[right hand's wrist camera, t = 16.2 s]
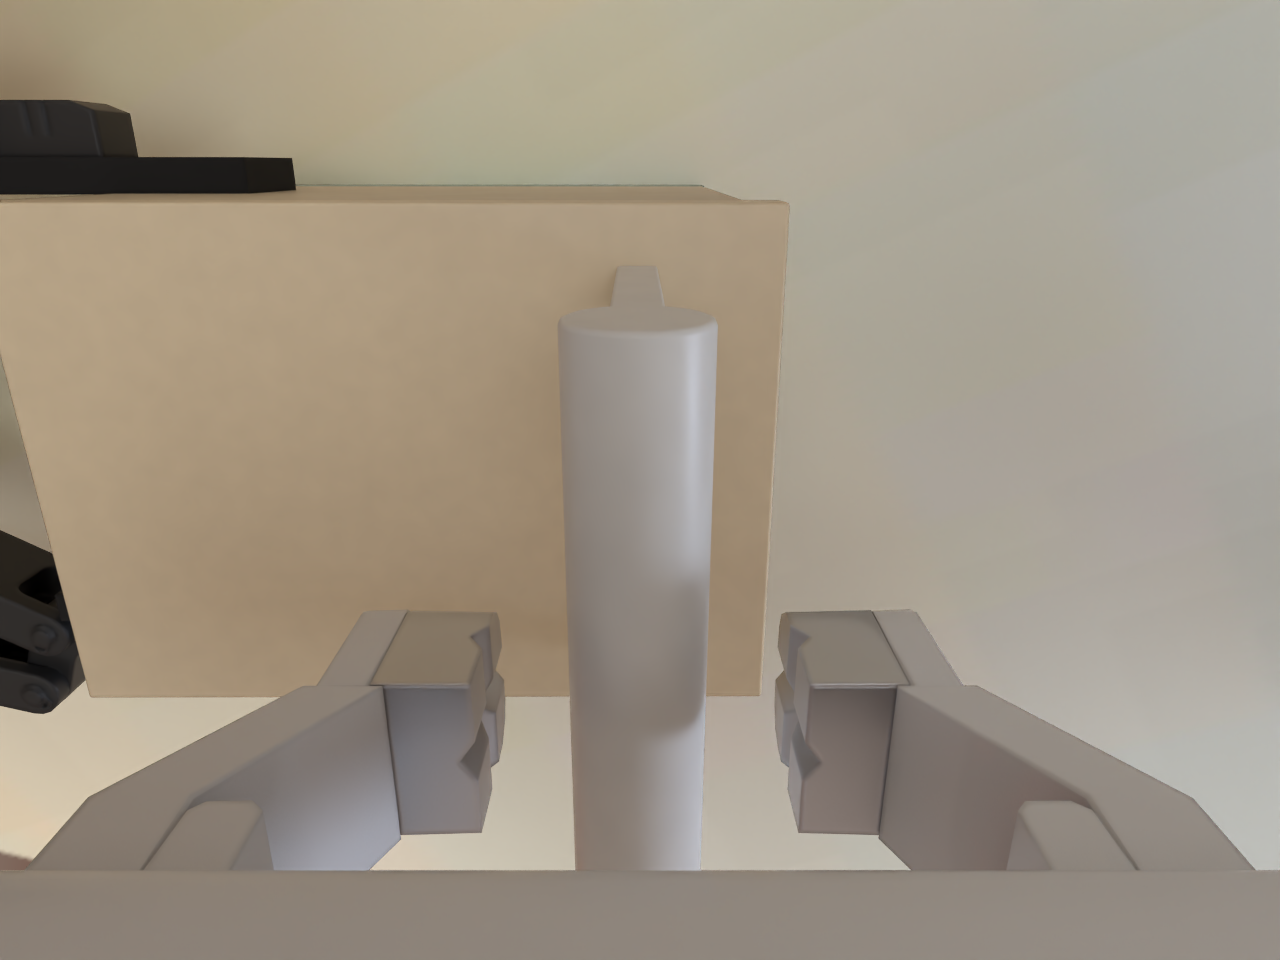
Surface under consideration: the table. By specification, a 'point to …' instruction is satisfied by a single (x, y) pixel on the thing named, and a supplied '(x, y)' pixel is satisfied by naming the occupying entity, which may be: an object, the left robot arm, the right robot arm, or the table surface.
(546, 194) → the chest
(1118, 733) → the table surface
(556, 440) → the lid
